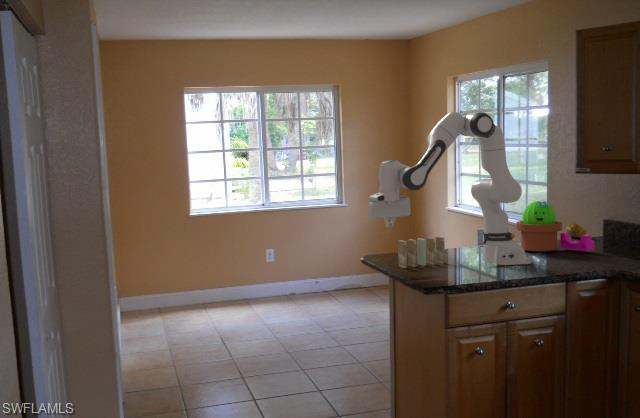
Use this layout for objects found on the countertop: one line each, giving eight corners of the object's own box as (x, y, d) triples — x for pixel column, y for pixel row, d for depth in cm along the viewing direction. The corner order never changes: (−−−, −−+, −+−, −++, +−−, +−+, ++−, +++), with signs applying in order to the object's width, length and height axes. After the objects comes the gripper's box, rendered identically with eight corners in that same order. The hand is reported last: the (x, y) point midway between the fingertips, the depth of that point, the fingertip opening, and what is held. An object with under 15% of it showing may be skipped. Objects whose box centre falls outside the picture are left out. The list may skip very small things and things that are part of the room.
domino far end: (401, 265, 304) (401, 240, 303) (407, 267, 300) (406, 241, 299) (398, 266, 304) (397, 240, 303) (403, 268, 299) (403, 241, 298)
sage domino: (423, 265, 303) (422, 239, 302) (417, 264, 308) (417, 238, 306) (426, 265, 304) (425, 239, 302) (420, 263, 308) (420, 238, 307)
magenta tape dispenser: (594, 249, 331) (594, 234, 330) (586, 251, 327) (586, 236, 326) (567, 246, 343) (567, 232, 342) (560, 247, 339) (560, 233, 339)
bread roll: (561, 235, 382) (561, 221, 381) (577, 234, 383) (577, 220, 383) (573, 238, 369) (573, 223, 368) (589, 237, 371) (589, 222, 370)
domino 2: (429, 262, 310) (429, 237, 309) (435, 264, 305) (435, 238, 304) (426, 263, 309) (426, 237, 308) (432, 264, 305) (432, 238, 304)
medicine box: (493, 244, 356) (493, 228, 355) (492, 245, 352) (492, 229, 351) (478, 244, 359) (478, 228, 358) (477, 245, 355) (477, 229, 354)
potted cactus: (516, 245, 351) (516, 198, 348) (560, 245, 345) (560, 197, 342) (516, 252, 330) (516, 202, 327) (563, 252, 324) (563, 201, 321)
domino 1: (411, 264, 306) (410, 239, 305) (416, 266, 302) (416, 240, 300) (408, 265, 306) (407, 239, 304) (413, 266, 301) (413, 240, 300)
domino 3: (438, 261, 312) (438, 236, 311) (444, 263, 307) (444, 237, 306) (436, 262, 311) (435, 236, 310) (441, 263, 307) (441, 237, 305)
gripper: (406, 194, 303) (406, 224, 304) (365, 197, 295) (366, 227, 297) (413, 195, 297) (413, 226, 299) (372, 197, 289) (372, 229, 291)
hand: (389, 227), depth 297 cm, fingers closed
